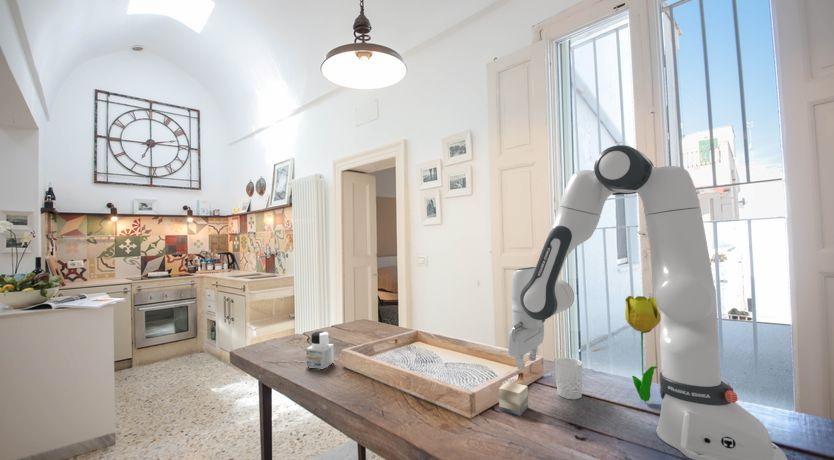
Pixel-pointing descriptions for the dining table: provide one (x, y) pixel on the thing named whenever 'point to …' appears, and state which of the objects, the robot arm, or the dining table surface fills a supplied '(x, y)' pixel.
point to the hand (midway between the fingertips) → (526, 364)
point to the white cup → (568, 377)
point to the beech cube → (513, 398)
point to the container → (320, 351)
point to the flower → (642, 319)
